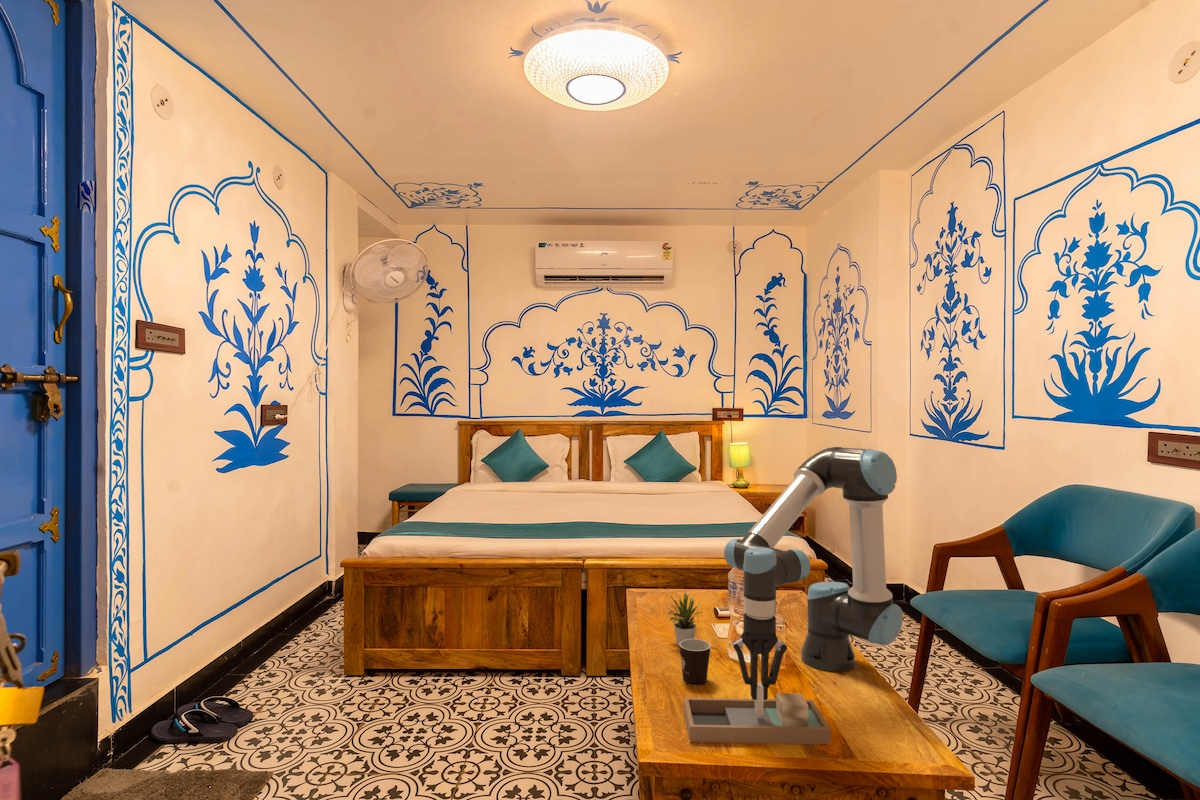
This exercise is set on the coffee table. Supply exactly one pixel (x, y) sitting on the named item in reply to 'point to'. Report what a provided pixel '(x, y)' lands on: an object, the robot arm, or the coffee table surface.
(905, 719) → the coffee table surface
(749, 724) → the track
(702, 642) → the coffee mug
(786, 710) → the ash block
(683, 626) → the house plant
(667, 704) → the coffee table surface
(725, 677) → the coffee table surface
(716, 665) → the coffee table surface
